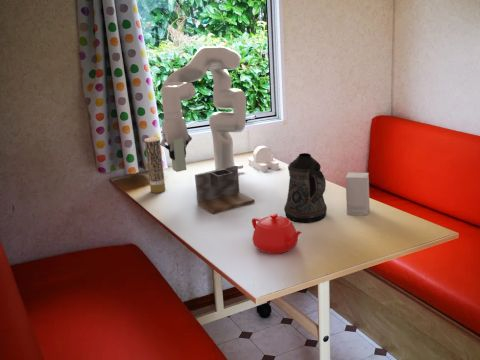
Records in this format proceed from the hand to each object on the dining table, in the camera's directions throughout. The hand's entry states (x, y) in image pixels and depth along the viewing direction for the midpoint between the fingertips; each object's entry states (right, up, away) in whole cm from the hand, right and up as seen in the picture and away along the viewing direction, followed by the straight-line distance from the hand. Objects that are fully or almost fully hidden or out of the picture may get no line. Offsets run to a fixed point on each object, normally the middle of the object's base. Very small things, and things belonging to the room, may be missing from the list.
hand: (178, 157), depth 236 cm
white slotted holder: (+38, -3, +50) cm, 63 cm away
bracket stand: (+20, -20, +1) cm, 28 cm away
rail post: (0, -5, +2) cm, 5 cm away
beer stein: (+53, -24, -19) cm, 61 cm away
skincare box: (+72, -22, -18) cm, 78 cm away
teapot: (+39, -33, -44) cm, 68 cm away
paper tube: (-12, -15, +23) cm, 30 cm away
